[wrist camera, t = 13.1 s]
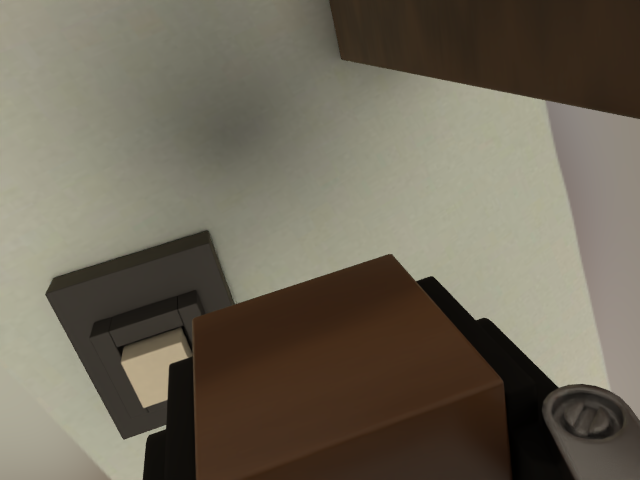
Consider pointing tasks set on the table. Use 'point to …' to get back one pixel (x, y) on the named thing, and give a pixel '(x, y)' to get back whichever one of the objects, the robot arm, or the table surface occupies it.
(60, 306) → the button base
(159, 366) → the beige block
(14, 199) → the table surface
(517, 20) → the stand
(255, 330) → the block
